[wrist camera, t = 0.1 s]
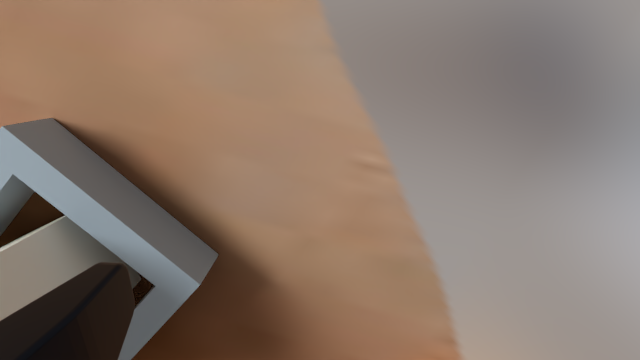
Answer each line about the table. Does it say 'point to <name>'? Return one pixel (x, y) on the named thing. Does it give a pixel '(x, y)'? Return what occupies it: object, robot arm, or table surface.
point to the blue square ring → (104, 217)
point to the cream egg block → (48, 262)
